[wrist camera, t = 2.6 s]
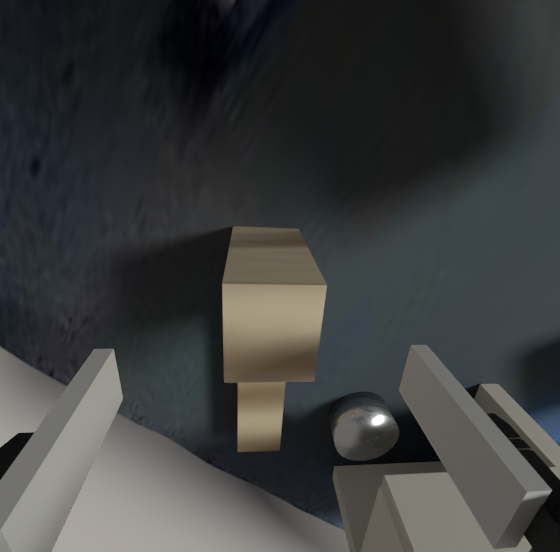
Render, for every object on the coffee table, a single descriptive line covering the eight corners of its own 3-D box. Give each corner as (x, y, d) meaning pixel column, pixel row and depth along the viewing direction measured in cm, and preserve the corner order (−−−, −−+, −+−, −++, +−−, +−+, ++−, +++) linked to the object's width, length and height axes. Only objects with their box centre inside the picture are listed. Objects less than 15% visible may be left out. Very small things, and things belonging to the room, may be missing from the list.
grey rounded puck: (331, 391, 32) (339, 415, 29) (392, 389, 32) (405, 413, 30) (324, 436, 34) (331, 462, 32) (380, 434, 35) (392, 459, 32)
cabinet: (330, 386, 31) (440, 738, 13) (497, 383, 33) (798, 688, 15) (315, 478, 37) (378, 811, 19) (459, 471, 39) (642, 768, 21)
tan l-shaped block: (233, 226, 24) (222, 283, 15) (298, 228, 24) (326, 285, 15) (233, 425, 32) (227, 539, 23) (282, 424, 33) (294, 534, 24)
